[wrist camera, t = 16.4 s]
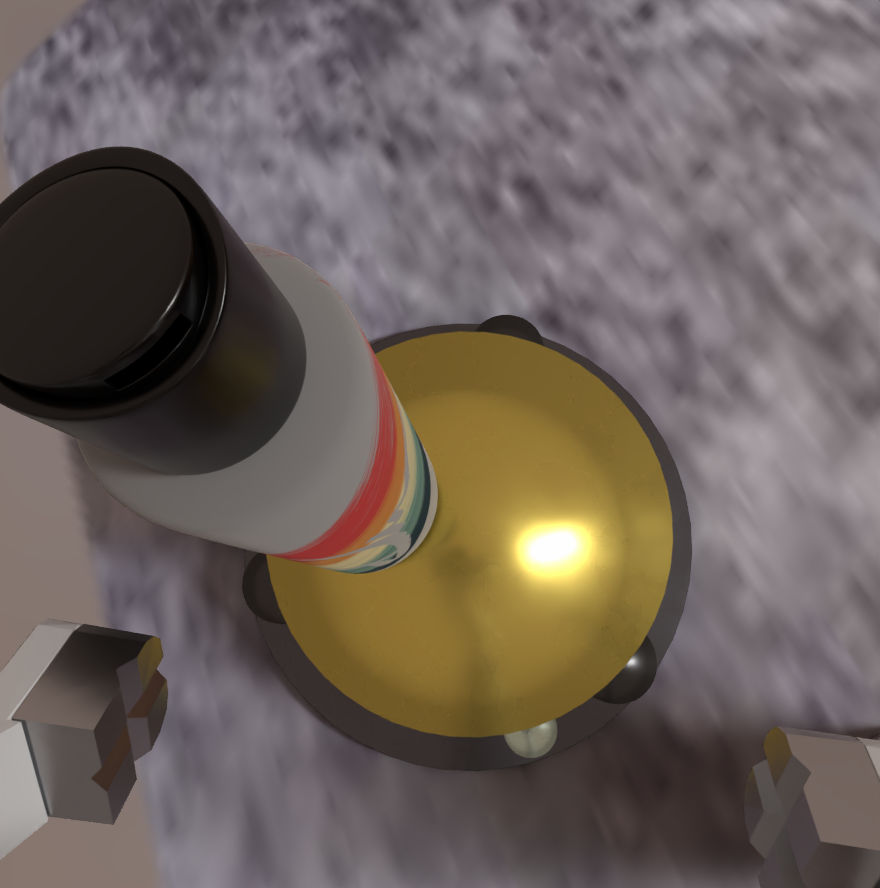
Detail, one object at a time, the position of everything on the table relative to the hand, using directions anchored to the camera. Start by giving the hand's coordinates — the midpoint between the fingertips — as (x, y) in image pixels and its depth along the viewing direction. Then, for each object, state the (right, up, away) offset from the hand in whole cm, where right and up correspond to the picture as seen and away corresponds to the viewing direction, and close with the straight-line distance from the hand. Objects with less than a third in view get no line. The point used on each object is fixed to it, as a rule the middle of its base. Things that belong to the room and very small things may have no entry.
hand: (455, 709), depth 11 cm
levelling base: (+1, 0, +22) cm, 22 cm away
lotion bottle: (-3, +2, +19) cm, 19 cm away
